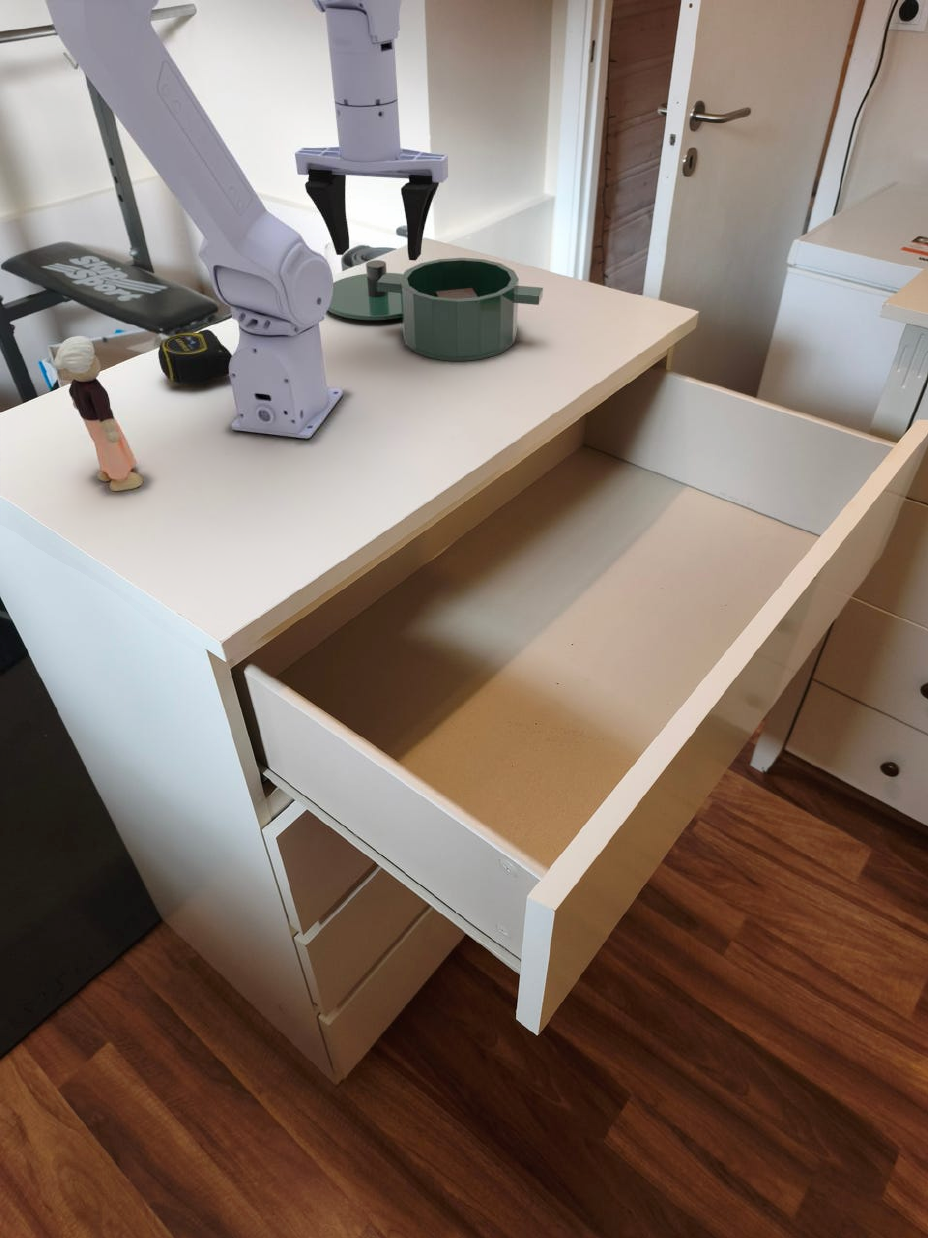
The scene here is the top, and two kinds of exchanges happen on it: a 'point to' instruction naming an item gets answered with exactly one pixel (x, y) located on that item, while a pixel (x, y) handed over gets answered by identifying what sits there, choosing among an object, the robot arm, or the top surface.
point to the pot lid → (365, 296)
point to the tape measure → (194, 358)
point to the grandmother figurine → (97, 413)
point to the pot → (459, 307)
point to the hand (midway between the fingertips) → (378, 254)
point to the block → (456, 293)
